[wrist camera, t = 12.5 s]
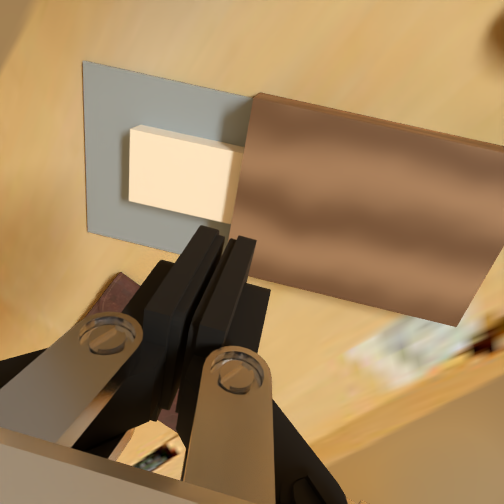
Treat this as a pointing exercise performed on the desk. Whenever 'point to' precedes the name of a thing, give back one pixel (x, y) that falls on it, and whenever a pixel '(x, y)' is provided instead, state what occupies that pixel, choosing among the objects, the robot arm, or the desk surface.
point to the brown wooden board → (369, 208)
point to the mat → (118, 148)
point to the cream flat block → (184, 173)
